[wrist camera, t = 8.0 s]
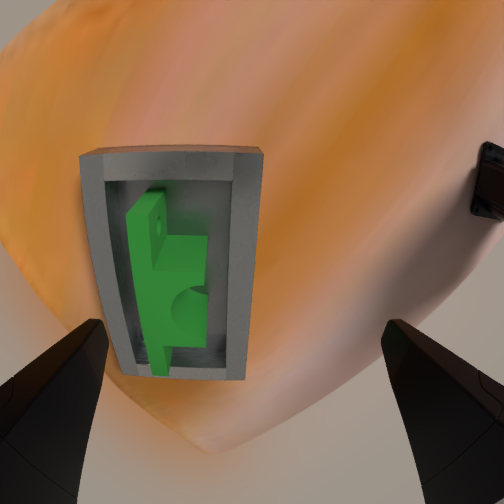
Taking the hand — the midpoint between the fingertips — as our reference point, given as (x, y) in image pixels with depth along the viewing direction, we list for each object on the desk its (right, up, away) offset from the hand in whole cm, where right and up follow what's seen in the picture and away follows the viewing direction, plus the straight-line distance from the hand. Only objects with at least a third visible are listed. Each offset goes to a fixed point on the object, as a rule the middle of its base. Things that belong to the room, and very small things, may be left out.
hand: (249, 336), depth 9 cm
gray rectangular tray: (-5, +1, +12) cm, 13 cm away
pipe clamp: (-5, +1, +11) cm, 12 cm away
